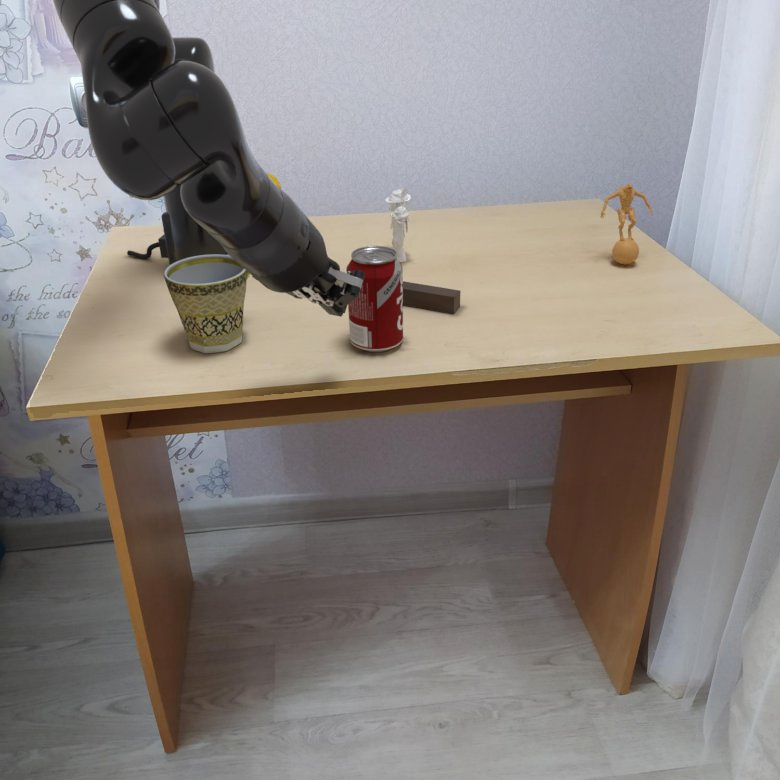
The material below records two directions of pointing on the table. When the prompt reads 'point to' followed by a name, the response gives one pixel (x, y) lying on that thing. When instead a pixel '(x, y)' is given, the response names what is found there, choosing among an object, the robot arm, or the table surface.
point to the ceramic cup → (209, 300)
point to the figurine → (624, 248)
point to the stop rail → (431, 297)
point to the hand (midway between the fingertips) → (339, 307)
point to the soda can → (377, 300)
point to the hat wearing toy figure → (399, 220)
